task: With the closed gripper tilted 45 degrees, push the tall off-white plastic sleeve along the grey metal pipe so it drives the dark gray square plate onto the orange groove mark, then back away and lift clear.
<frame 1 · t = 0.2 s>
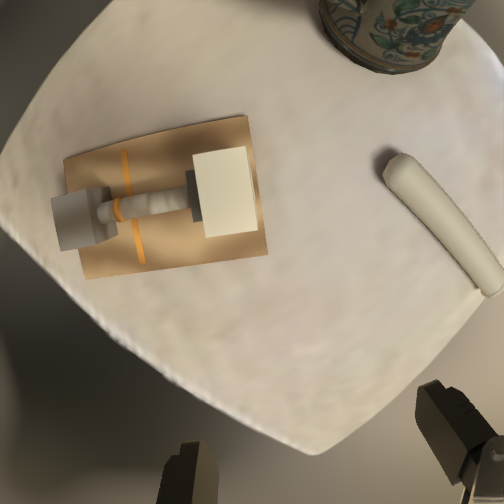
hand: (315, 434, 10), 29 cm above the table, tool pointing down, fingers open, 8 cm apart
sleeve: (231, 189, 29), point 7 cm above the table, slide at 0.0 cm
beer stein: (370, 30, 31), on the table
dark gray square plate: (199, 194, 32), point 4 cm above the table, slide at 0.0 cm
tube: (442, 226, 37), on the table
pipe stand: (157, 201, 36), on the table
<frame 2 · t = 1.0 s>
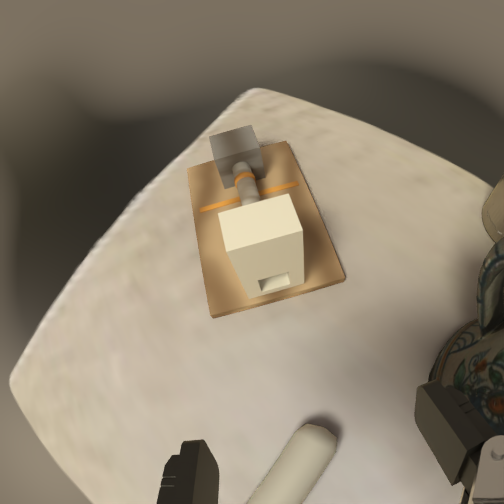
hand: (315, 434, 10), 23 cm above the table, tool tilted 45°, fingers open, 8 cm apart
sleeve: (266, 252, 31), point 7 cm above the table, slide at 0.0 cm
beer stein: (471, 384, 28), on the table
pipe stand: (255, 218, 42), on the table
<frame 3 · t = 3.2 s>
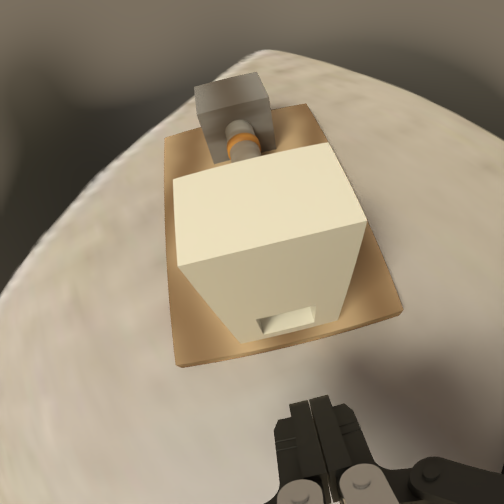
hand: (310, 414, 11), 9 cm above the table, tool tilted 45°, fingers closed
sleeve: (275, 266, 16), point 7 cm above the table, slide at 0.0 cm
pipe stand: (258, 208, 27), on the table
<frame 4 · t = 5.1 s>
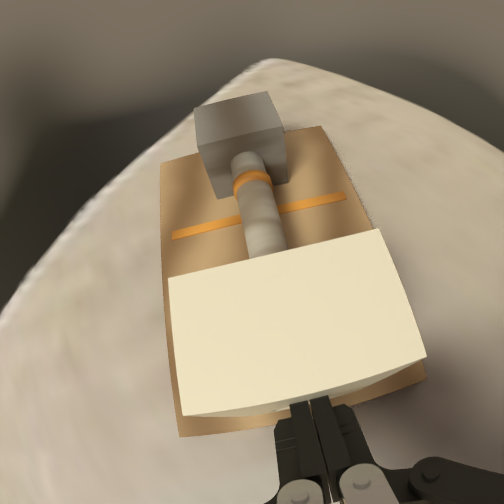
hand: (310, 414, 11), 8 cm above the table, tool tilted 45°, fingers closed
sleeve: (295, 357, 13), point 7 cm above the table, slide at 0.3 cm, touching gripper
pipe stand: (268, 255, 24), on the table
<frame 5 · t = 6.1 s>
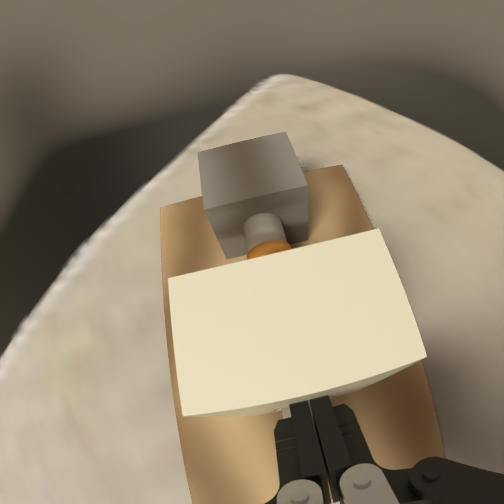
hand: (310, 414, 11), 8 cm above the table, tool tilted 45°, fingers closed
sleeve: (295, 357, 13), point 7 cm above the table, slide at 6.0 cm, touching gripper, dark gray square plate
pipe stand: (285, 327, 21), on the table
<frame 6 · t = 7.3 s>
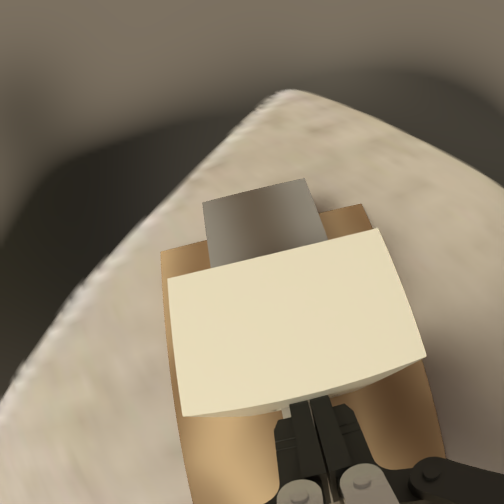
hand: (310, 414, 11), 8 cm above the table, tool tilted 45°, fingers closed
sleeve: (295, 357, 13), point 7 cm above the table, slide at 10.5 cm, touching gripper, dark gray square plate
pipe stand: (300, 390, 19), on the table
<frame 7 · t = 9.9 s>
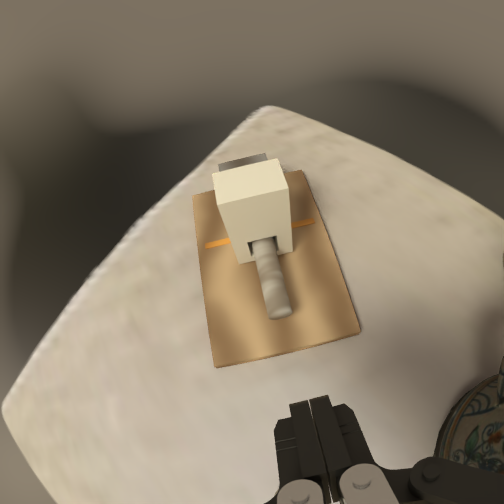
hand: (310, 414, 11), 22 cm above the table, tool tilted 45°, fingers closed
sleeve: (256, 216, 33), point 7 cm above the table, slide at 10.6 cm, touching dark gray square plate
beer stein: (479, 439, 24), on the table
pipe stand: (265, 258, 39), on the table
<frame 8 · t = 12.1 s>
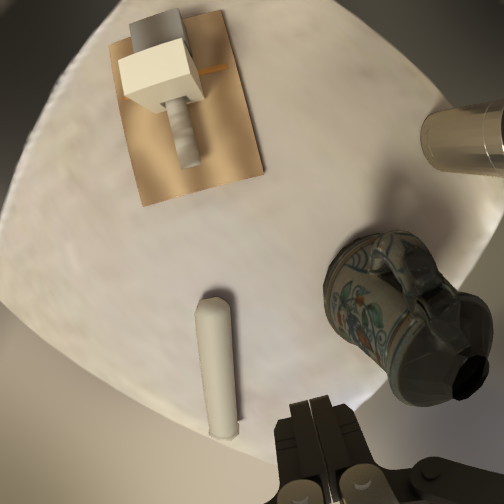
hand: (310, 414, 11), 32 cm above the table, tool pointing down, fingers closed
sleeve: (166, 80, 30), point 7 cm above the table, slide at 10.6 cm, touching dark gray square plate
beer stein: (365, 280, 44), on the table
tube: (219, 365, 47), on the table
pipe stand: (181, 102, 37), on the table
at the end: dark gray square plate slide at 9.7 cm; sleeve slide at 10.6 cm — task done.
